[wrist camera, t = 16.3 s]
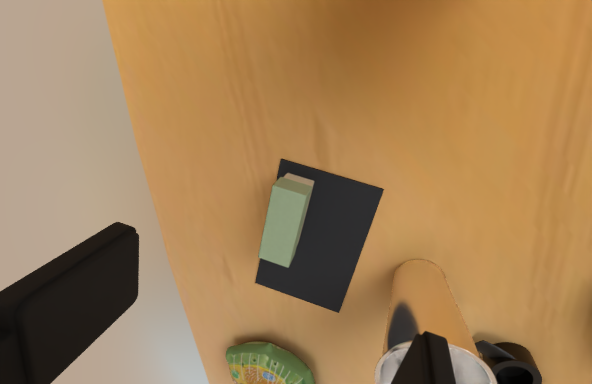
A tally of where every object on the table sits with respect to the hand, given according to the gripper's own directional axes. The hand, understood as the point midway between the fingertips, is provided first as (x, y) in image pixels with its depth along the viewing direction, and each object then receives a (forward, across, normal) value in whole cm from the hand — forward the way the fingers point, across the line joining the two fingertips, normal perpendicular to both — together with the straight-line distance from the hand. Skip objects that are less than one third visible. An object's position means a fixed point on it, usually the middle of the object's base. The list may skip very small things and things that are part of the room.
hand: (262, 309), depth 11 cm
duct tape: (+31, -28, +24) cm, 48 cm away
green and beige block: (+30, +4, +12) cm, 33 cm away
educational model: (+31, +1, +41) cm, 51 cm away
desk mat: (+30, +1, +16) cm, 34 cm away
